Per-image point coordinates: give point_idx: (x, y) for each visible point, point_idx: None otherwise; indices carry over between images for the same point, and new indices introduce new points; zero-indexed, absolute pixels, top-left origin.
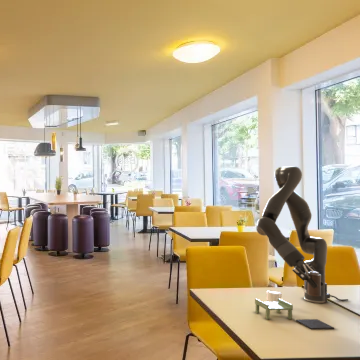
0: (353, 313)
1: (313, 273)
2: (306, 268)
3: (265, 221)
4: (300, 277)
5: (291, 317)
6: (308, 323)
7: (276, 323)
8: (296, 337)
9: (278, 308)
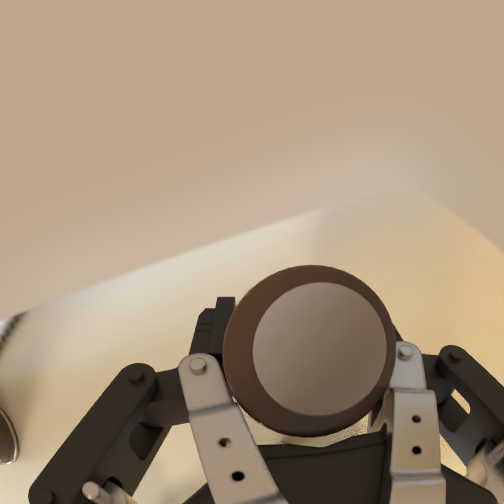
0: (26, 313)
1: (379, 330)
2: (318, 494)
3: None
4: (460, 409)
5: (283, 443)
6: None
7: None
8: (444, 318)
9: None
